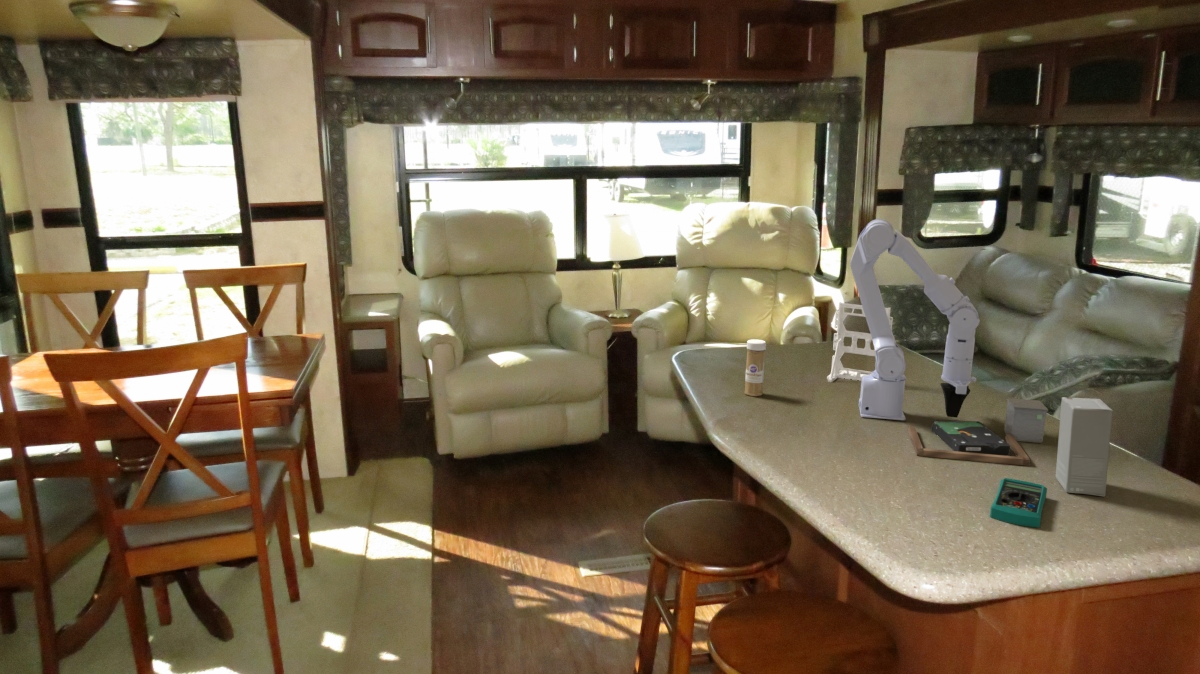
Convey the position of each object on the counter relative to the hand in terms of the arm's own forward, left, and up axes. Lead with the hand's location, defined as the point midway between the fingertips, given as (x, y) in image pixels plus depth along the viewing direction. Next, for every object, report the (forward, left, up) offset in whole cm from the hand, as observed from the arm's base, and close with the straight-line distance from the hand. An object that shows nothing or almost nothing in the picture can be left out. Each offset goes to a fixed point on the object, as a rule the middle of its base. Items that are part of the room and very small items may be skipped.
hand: (951, 416), depth 183 cm
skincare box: (+16, -33, -1) cm, 37 cm away
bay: (0, -17, -1) cm, 17 cm away
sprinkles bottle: (-44, +9, -1) cm, 45 cm away
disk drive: (+1, -14, -2) cm, 14 cm away
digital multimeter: (+4, -46, -2) cm, 46 cm away
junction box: (+13, -7, -1) cm, 15 cm away
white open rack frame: (-18, +30, -1) cm, 35 cm away
